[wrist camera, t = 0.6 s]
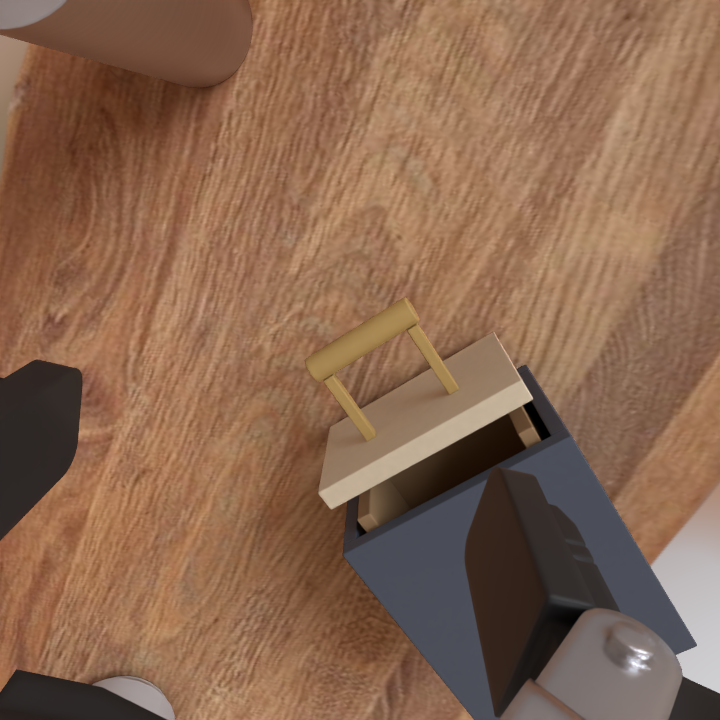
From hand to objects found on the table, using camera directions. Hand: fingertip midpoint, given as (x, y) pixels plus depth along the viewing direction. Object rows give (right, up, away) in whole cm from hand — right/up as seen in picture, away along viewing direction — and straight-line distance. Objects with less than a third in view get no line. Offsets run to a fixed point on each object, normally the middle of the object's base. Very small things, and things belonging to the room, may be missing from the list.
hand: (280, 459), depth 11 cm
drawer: (+7, -3, +25) cm, 26 cm away
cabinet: (+10, -7, +27) cm, 30 cm away
